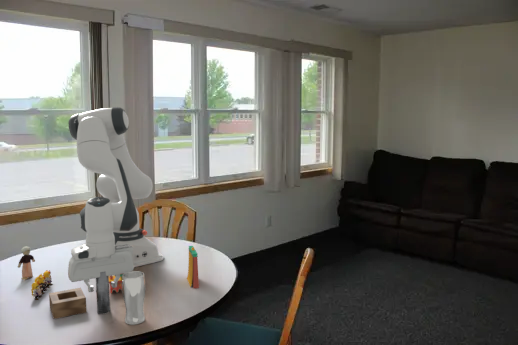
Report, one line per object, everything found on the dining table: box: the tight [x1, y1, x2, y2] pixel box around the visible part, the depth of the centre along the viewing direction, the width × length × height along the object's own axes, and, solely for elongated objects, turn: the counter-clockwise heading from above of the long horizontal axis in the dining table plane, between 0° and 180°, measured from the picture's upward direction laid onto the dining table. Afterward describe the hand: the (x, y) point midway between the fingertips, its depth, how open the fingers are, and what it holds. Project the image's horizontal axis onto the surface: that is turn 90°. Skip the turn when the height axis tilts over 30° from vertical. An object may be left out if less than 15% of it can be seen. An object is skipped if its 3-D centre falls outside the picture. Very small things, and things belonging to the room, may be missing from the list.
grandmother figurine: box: [17, 246, 36, 281], centre depth 184 cm, size 8×4×13 cm, turn 168°
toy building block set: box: [109, 245, 200, 294], centre depth 174 cm, size 12×35×14 cm, turn 107°
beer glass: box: [121, 270, 146, 326], centre depth 146 cm, size 7×7×15 cm
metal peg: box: [95, 271, 111, 315], centre depth 153 cm, size 4×4×14 cm
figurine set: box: [30, 269, 53, 301], centre depth 170 cm, size 3×16×7 cm, turn 6°
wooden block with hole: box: [48, 287, 88, 320], centre depth 155 cm, size 10×10×5 cm
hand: (102, 289), depth 153 cm, fingers open, 6 cm apart
